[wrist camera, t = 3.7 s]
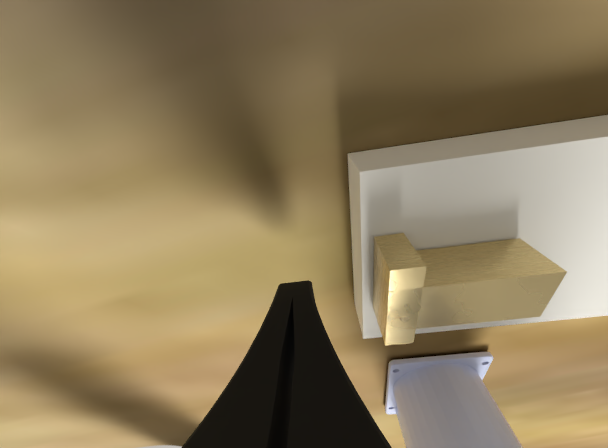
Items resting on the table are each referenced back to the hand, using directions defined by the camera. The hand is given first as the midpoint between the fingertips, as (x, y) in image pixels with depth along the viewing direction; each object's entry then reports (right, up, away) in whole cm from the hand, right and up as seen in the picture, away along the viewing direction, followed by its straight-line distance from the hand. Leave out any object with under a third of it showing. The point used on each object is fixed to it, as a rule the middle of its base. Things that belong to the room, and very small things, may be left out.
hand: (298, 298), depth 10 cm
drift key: (+6, +1, 0) cm, 7 cm away
